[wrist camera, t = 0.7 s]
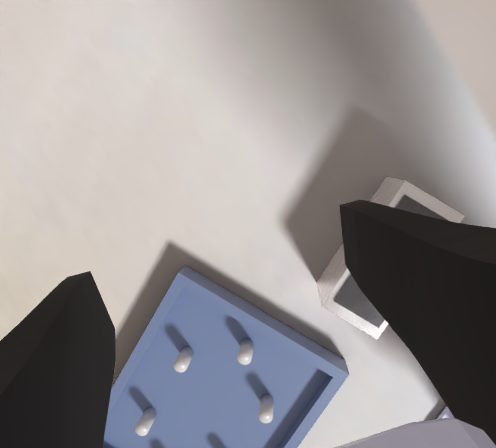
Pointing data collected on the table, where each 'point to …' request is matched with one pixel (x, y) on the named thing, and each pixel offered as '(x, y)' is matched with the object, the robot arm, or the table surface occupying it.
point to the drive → (341, 281)
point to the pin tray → (219, 376)
